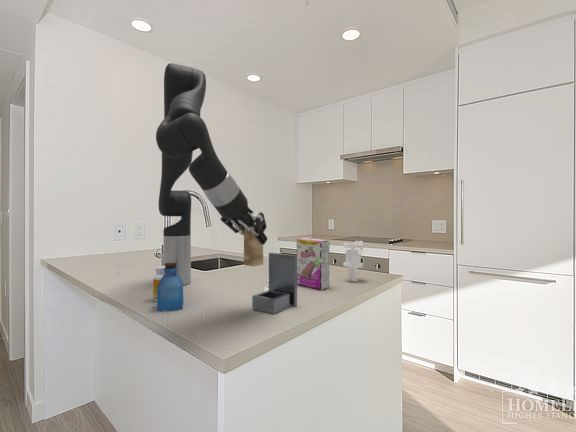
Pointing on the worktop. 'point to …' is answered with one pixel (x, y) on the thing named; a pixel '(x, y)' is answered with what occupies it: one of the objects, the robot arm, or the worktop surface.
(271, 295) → the grey holder with backboard
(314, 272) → the candy bar box
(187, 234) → the robot arm
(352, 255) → the white upright piece
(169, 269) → the perfume bottle
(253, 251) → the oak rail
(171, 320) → the worktop surface
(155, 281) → the supplement bottle
